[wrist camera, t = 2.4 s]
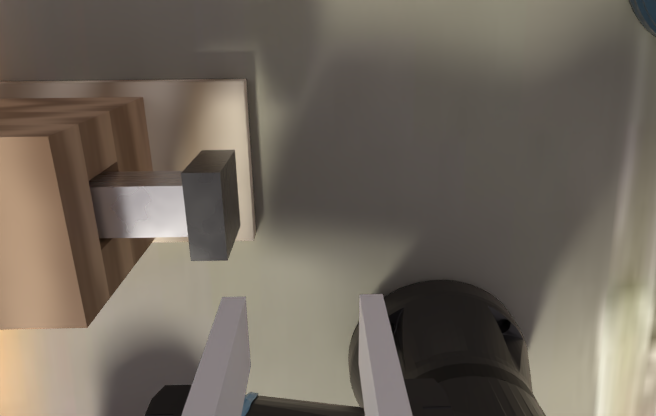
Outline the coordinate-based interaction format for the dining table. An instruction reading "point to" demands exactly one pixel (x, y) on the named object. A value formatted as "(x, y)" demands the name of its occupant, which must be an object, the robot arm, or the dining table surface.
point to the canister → (645, 13)
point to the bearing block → (84, 164)
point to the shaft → (173, 204)
